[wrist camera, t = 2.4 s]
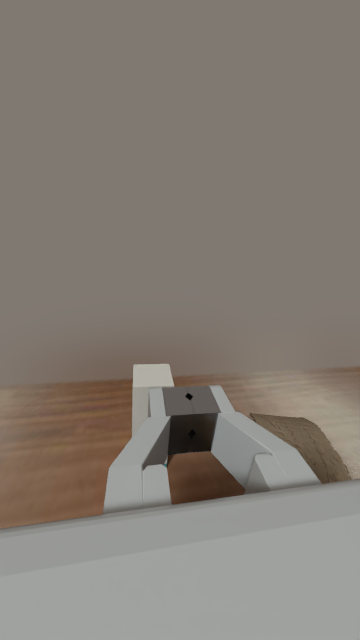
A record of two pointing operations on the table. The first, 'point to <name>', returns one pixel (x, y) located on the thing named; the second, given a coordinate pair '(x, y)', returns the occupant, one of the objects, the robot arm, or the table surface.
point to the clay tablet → (307, 445)
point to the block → (147, 390)
